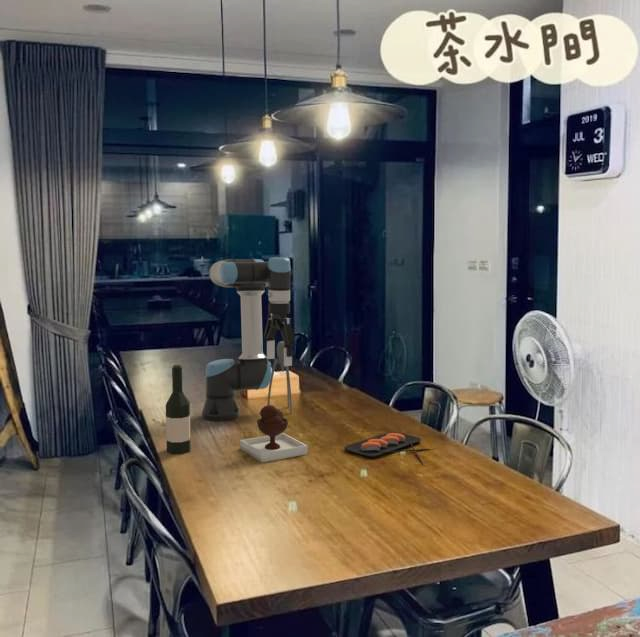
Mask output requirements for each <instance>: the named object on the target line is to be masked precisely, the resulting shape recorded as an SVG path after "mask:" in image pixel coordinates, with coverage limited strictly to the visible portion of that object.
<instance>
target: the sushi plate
mask: <svg viewBox="0 0 640 637" xmlns="http://www.w3.org/2000/svg"><path fill="white" fill-rule="evenodd" d="M421 441H422V438H420V437H417V436H413V435H411V434H407V433H403V432H398V431H390V432H389V431H388V432H386V433H382V434H378V435H376V436H372V437H370V438H366V439H363V440H360V441H357V442H353V443H351V444H347V445H345V446H344V450H345V451H347V452H350V453H353V454H357V455H361V456H364V457H370V458H373V457H375V458H376V457H378V456H383V455H386V454H388V453H401V452H402V453H403V452H414V454H415V455H416V457H417V459H418V461H419V463H420V464H421V463H422V464H424V462H423V460H422V458H421V457H420V455H419V454H418V453H417V452H421V451H420V450H425V451H427V450H426V449H427V448H418V449H417V448H416V449H415V448H414V446H413V445H414V444H416V443H419V442H421ZM408 446H410V447H411V448H412V449H402V448H405V447H408ZM399 449H400V450H399ZM401 449H402V450H401ZM422 464H421V465H422Z"/></svg>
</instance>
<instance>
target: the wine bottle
mask: <svg viewBox="0 0 640 637" xmlns="http://www.w3.org/2000/svg"><path fill="white" fill-rule="evenodd" d="M172 366H173V367H172V368H171V377H172V378H171V382H172V383H171V384H172V391H171V392H172V393H171V395H170V396H169V398H168V399H167V401H166V403H165V426H166V427H165V429H166V430H165V433H166V435H165V436H166V453H168V454H170V455H182V454H183V455H184V454H188V453H190V451H191V447H192V446H191V445H192V444H191V406H190V405H191V402H190V400H189V399H188V397H187V396H186V394H185V393H184V391H183V367H182V366H181V364H174V365H172Z"/></svg>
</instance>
